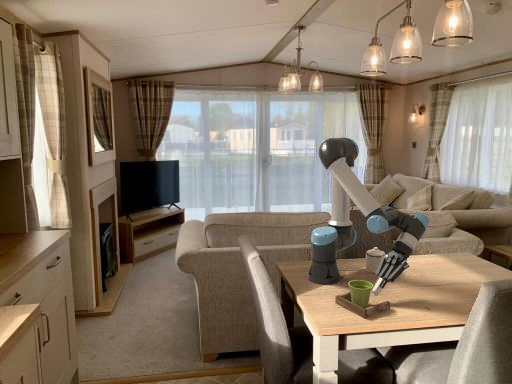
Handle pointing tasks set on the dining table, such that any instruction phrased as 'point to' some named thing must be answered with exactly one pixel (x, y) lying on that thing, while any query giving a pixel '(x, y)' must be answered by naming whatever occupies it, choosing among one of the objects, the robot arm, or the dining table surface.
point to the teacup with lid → (373, 259)
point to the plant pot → (360, 292)
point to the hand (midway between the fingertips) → (374, 293)
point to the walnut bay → (344, 302)
